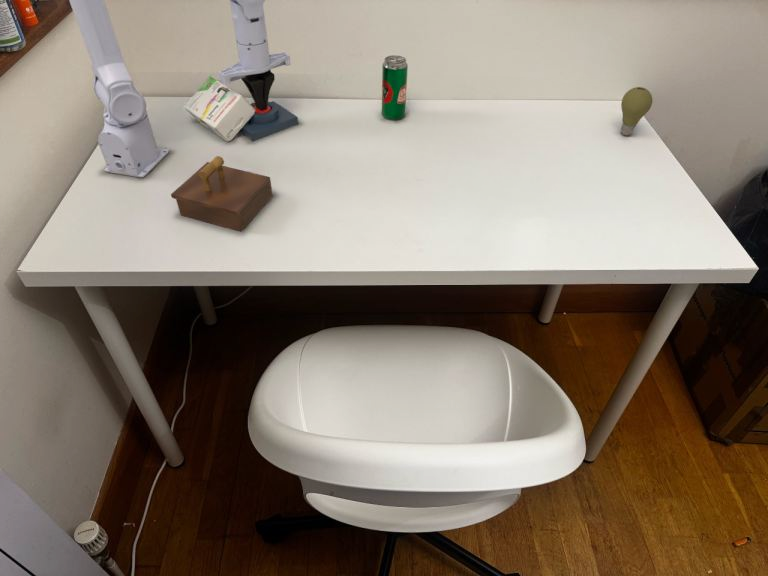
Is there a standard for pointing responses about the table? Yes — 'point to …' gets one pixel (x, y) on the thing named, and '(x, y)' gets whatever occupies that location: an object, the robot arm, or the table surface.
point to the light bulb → (634, 108)
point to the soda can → (394, 87)
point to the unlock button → (263, 110)
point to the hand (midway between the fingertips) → (261, 108)
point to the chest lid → (221, 187)
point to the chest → (227, 218)
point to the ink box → (220, 109)
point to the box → (268, 122)
